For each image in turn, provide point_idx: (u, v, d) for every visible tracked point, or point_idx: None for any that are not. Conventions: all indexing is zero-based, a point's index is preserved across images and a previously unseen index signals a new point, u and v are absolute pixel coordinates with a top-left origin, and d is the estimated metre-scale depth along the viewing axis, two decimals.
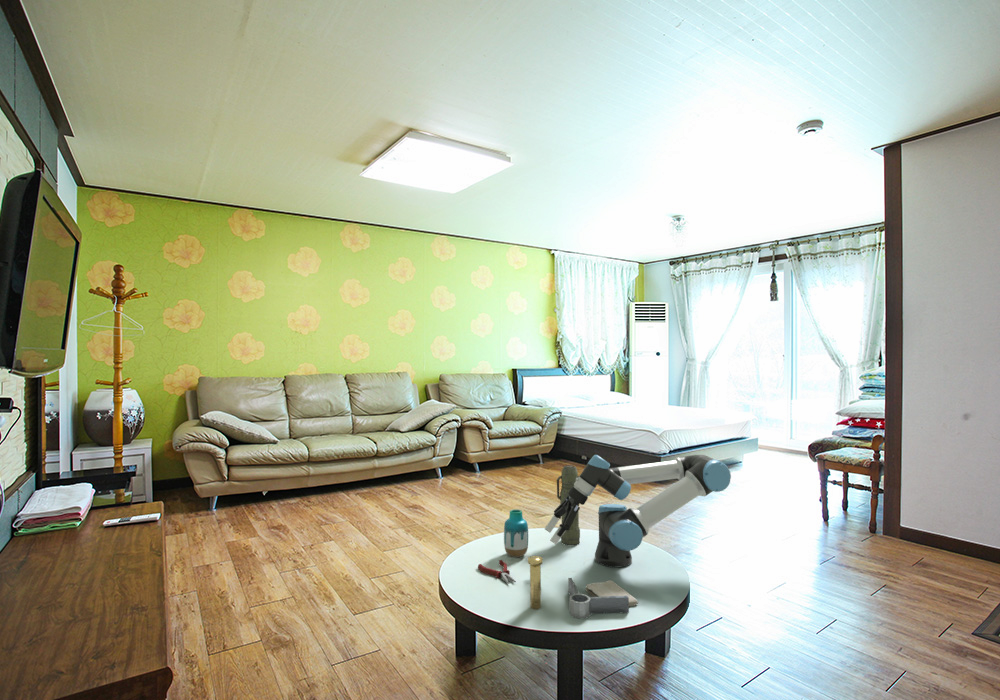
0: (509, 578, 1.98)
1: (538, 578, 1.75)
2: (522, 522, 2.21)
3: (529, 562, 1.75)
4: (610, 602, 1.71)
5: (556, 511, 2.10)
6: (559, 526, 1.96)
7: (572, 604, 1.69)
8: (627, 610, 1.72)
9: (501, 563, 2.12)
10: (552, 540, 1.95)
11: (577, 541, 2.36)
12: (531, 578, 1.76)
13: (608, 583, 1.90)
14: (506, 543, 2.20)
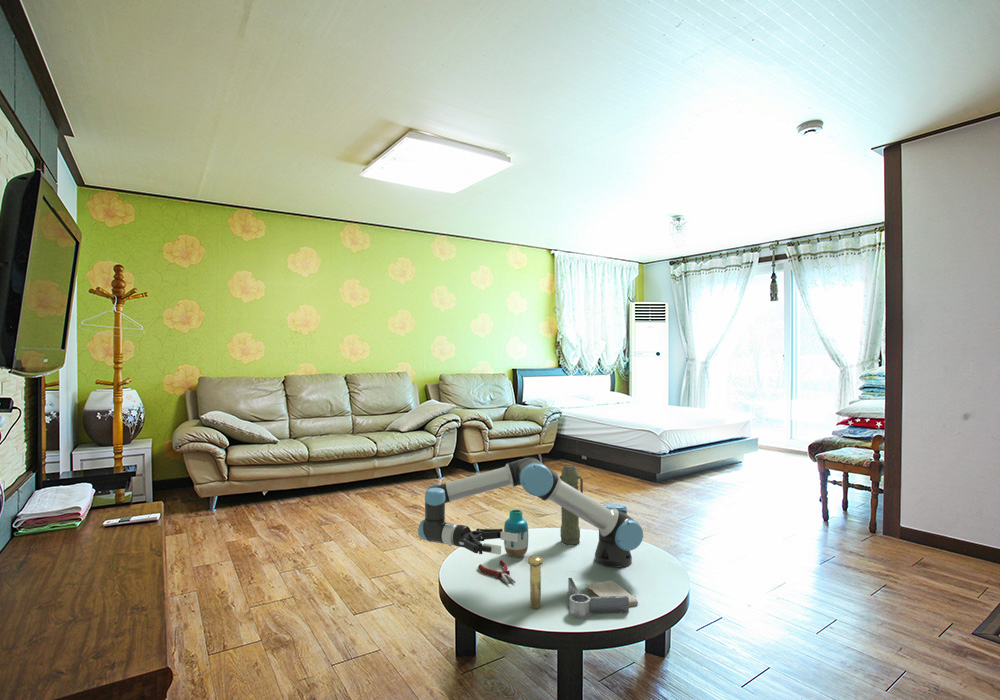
0: (509, 579, 1.97)
1: (538, 578, 1.75)
2: (522, 522, 2.21)
3: (529, 562, 1.75)
4: (610, 602, 1.71)
5: None
6: None
7: (572, 604, 1.69)
8: (627, 610, 1.72)
9: (501, 563, 2.12)
10: (498, 552, 1.75)
11: (577, 541, 2.36)
12: (531, 578, 1.76)
13: (608, 583, 1.90)
14: (506, 543, 2.20)
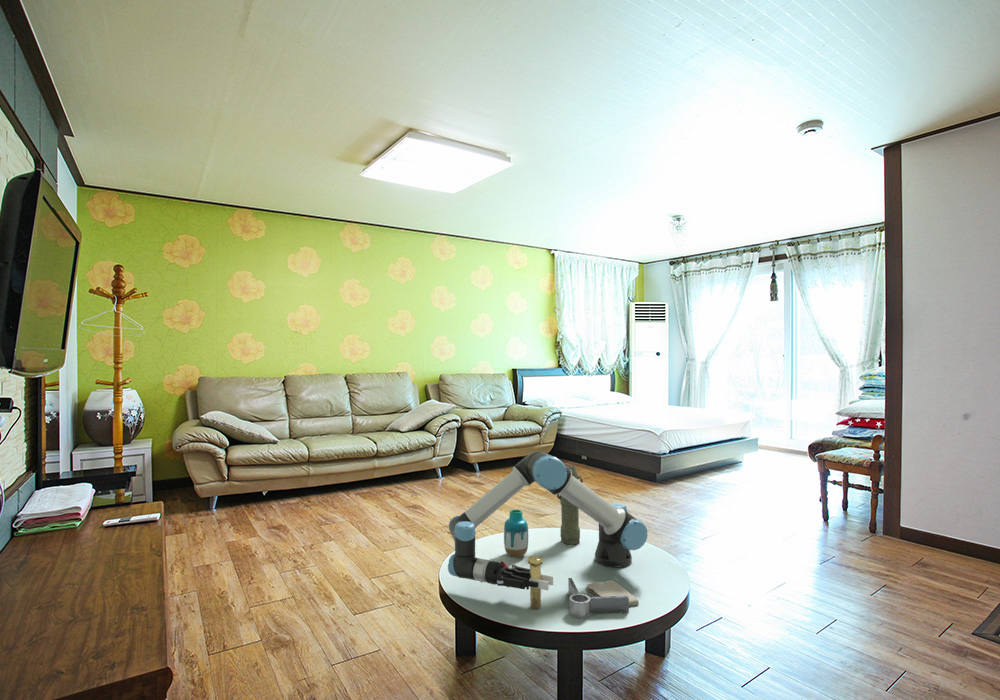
0: None
1: (538, 578, 1.75)
2: (522, 522, 2.21)
3: (529, 562, 1.75)
4: (610, 602, 1.71)
5: None
6: None
7: (572, 604, 1.69)
8: (627, 610, 1.72)
9: (502, 564, 2.11)
10: (546, 588, 1.72)
11: (577, 541, 2.36)
12: None
13: (609, 582, 1.90)
14: (506, 543, 2.20)
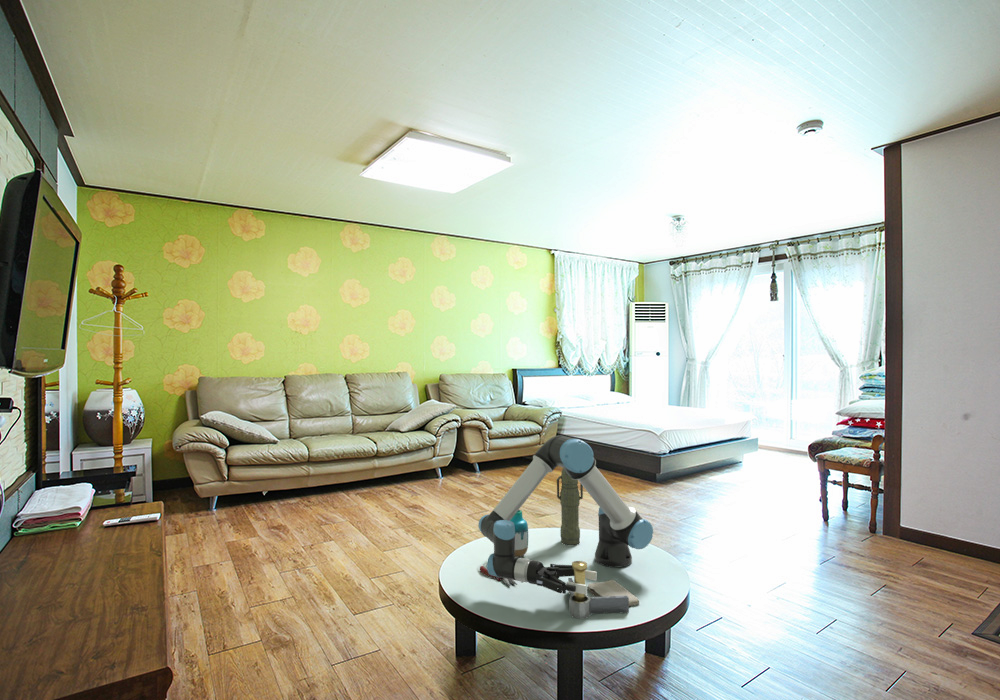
0: (511, 580, 1.95)
1: (583, 584, 1.70)
2: (522, 522, 2.21)
3: (573, 567, 1.71)
4: (610, 602, 1.71)
5: None
6: None
7: (572, 604, 1.69)
8: (627, 610, 1.72)
9: None
10: (584, 592, 1.64)
11: (577, 541, 2.36)
12: None
13: (610, 582, 1.90)
14: None
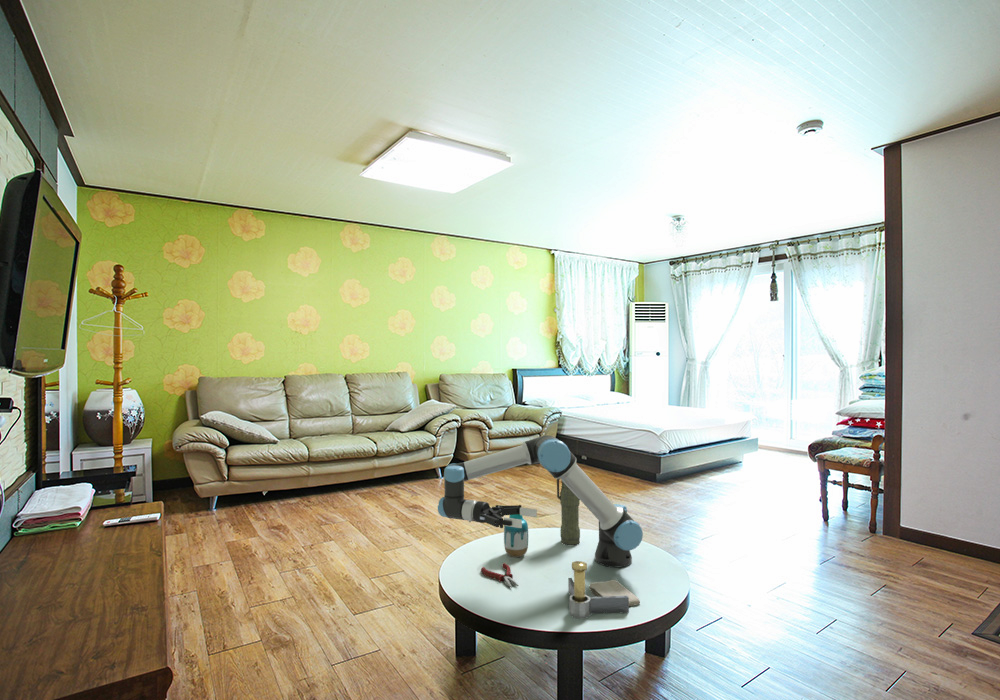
0: (512, 582, 1.94)
1: (583, 584, 1.70)
2: (522, 522, 2.21)
3: (573, 568, 1.70)
4: (610, 602, 1.71)
5: (516, 513, 1.93)
6: (505, 525, 1.80)
7: (572, 604, 1.69)
8: (627, 610, 1.72)
9: (504, 566, 2.09)
10: (519, 526, 1.77)
11: (577, 541, 2.36)
12: (575, 584, 1.70)
13: (611, 582, 1.90)
14: (506, 543, 2.20)
